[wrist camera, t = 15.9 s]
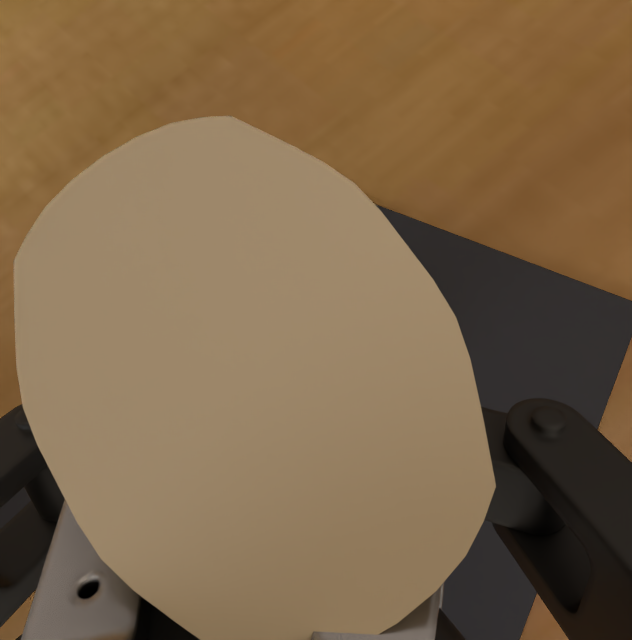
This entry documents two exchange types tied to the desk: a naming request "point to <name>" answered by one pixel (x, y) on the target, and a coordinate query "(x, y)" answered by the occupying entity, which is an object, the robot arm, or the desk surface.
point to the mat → (508, 384)
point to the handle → (248, 387)
